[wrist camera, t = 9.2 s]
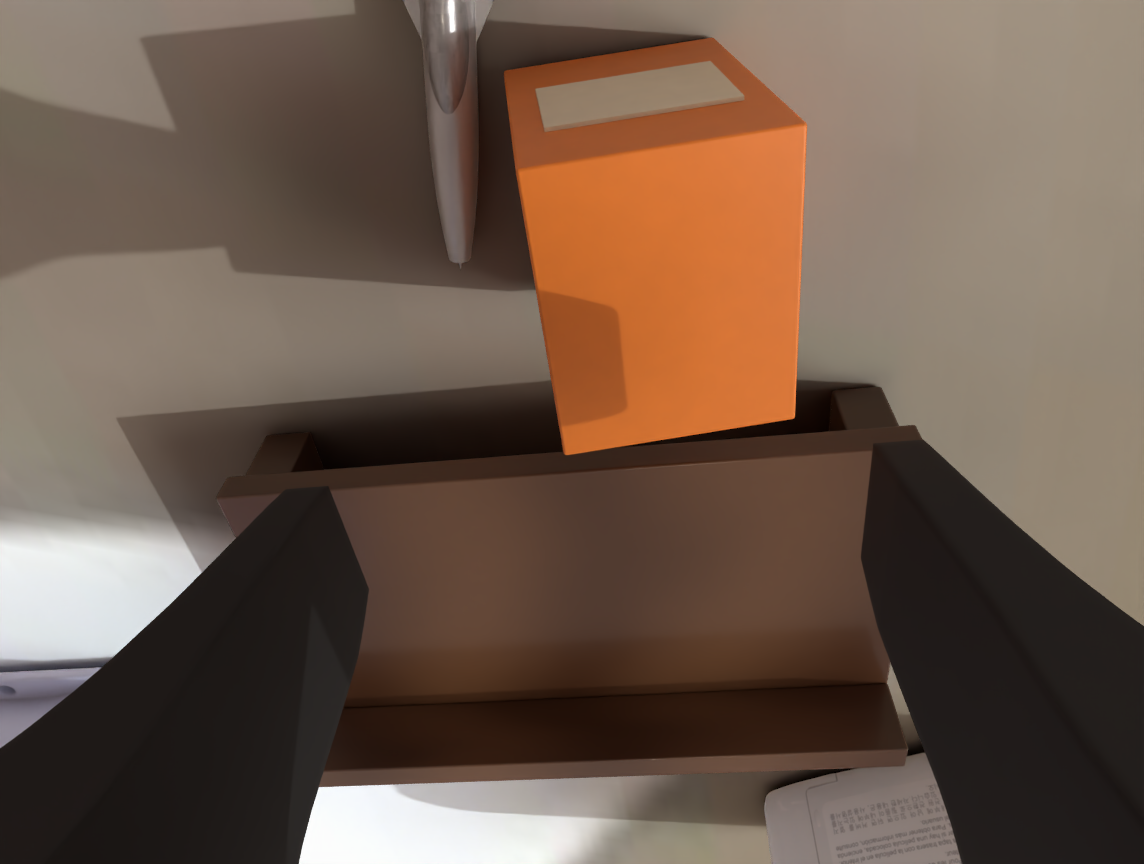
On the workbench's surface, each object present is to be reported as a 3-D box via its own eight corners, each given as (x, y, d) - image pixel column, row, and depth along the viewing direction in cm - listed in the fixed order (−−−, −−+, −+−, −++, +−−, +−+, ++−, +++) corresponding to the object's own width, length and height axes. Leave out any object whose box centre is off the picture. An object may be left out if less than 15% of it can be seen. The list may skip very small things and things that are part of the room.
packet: (542, 305, 19) (564, 456, 14) (502, 65, 16) (513, 164, 11) (719, 277, 19) (796, 420, 14) (713, 32, 16) (808, 117, 11)
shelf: (352, 648, 27) (310, 787, 23) (254, 426, 22) (179, 561, 18) (860, 621, 25) (905, 767, 22) (891, 373, 20) (958, 509, 16)
